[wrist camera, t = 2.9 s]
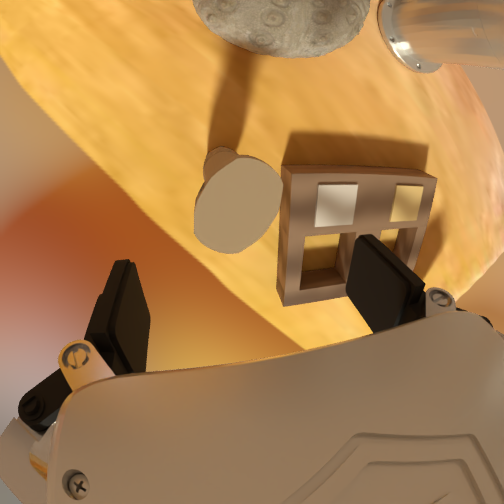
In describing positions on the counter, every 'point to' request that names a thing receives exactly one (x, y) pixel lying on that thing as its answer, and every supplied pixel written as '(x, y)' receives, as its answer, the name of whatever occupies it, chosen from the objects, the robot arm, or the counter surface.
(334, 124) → the counter surface
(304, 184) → the socket block
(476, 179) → the counter surface
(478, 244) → the counter surface
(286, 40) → the grey flattened rounded lump
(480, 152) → the counter surface
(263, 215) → the handle
